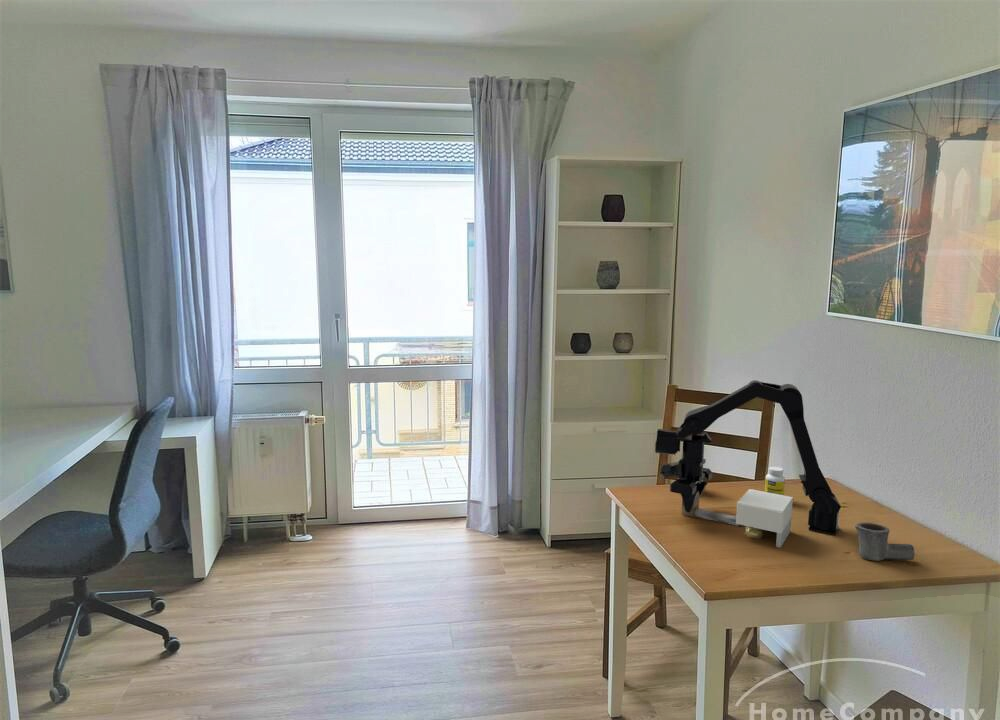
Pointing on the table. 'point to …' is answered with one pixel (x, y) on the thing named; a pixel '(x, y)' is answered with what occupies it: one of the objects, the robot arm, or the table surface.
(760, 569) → the table surface
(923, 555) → the table surface
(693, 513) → the taupe block mallet
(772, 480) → the supplement bottle
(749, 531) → the token
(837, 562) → the table surface
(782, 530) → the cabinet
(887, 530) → the pipe
